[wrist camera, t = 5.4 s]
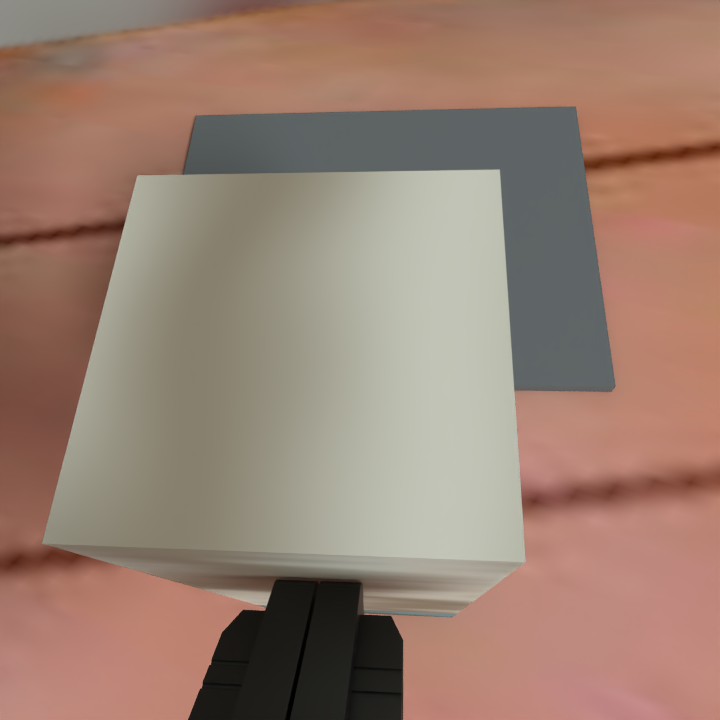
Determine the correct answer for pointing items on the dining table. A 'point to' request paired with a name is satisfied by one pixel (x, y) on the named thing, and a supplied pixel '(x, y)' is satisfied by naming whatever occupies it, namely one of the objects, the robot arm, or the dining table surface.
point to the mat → (519, 205)
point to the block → (303, 390)
